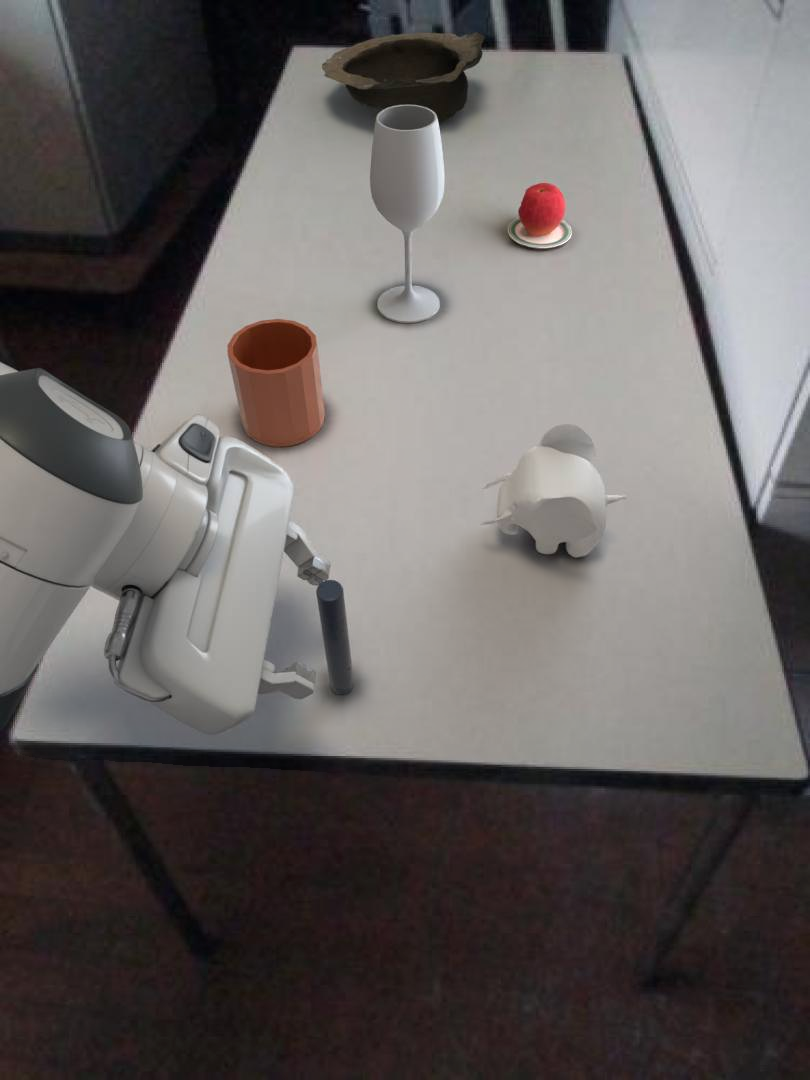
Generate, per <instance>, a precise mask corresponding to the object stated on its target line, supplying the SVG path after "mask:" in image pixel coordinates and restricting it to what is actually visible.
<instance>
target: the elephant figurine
mask: <svg viewBox="0 0 810 1080" xmlns="http://www.w3.org/2000/svg"><path fill="white" fill-rule="evenodd" d="M596 450H597V449H596V447H595V444H594V441H593V440H592V438H591V436H590V435H589V434H588V433H587V432H586V431H585V430H584V429H583V428H581V427H579V426H577V425H575V424H571V423H564V424H559V425H555V426H553V427H551V428H550V429H549V430H547V431H546V432H545V433H544V434H543V435H542V437H541V438H540V441H539V442H538V444H536V446H534V447H531V448H530V449H529V450H527V451H526V452H525V453H523V455H521V457H520V458H519V460H518V463H517V465H516V466H515V469H514V470H513V471H512V472H511V473H504V474H502V475H501V476H499V477H498V478H496V479H494V480H493V481H491V482H489V483H487V484H486V485H485V486H484V487H483V488H482V489H483V490H485V489H487V490H488V489H489V488H492V487H494V486H495V485H497V484H499V483H501V484H500V486H499V488H498V494H497V504H496V505H497V506H496V508H497V509H496V518H493V519H489V520H485V521H483V522H481V523H479V525H480V526H481V525H482V526H483V525H494V524H497V525H498V526H497V527H498V528H499V530H500V531H501V532H502V533H504V534H506V535H510V536H512V535H513V536H514V535H517V534H519V533H520V527H521V528H522V529H524V530H525V531H527V532H528V533H529V534H530V535H531V537H532V538H533V539H534V540H535V549H536V551H537V552H538V553H540V554H543V555H552V554H555V553H556V552H557V550H558V548H559V544H561V543H565V551H566V552H567V554H568V555H570V556H571V557H573V558H581V557H585V556H587V555H588V554H589V553H590V552H591V551H593V550H594V548H596V547H597V545H599V544H600V542H601V540H602V538H603V536H604V533H605V529H606V518H607V517H606V515H607V506H608V505H610V504H613V503H616V502H619V501H621V500H626V499H627V496H626V495H609V494H608V495H607V494H606V490H605V484H604V482H603V478H602V477H601V475H600V473H599V472H598V470H597V469H596V468H595V466H594V465H593V464H592V463H591V462H592V461H593V460H594V459H595V458H596V454H597V453H596Z"/></svg>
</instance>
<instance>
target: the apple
mask: <svg viewBox="0 0 810 1080" xmlns="http://www.w3.org/2000/svg"><path fill="white" fill-rule="evenodd" d="M517 211H518V217H517V218H515V219H513V220H512V221H511V222H509V224H508V226H507V234H508V236H509V238H510V239H511V240H513V241H514V242H515V243H517V244H519V245H521V246H525V247H528V248H533V249H551V248H556V247H559V246H562V245H565V243H567V242H568V241H569V240H570V239H571V237H572V233H573V231H572V227H571V225H570V224H568V222H566V221H565V220H563V219H564V216H565V213H566V201H565V197H564V194H563V192H562V191H561V190H560V189H559V187H558V186H557V185H555V184H552V183H549V182H539V183H537V184H533V185H531V186H529V187H528V188H526V189H525V192H524V194H523V197H522V200H521V201H520V206H519V207H518V210H517Z"/></svg>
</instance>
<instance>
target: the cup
mask: <svg viewBox="0 0 810 1080" xmlns="http://www.w3.org/2000/svg"><path fill="white" fill-rule="evenodd" d="M317 341H318V340H317V335H316V334H315V333H314V332H313V331H312V330H311V329H310V328H309V326H307V325H304V324H302V323H300V322H298V321H296V320H291V319H283V318H274V319H272V318H271V319H263V320H259V321H256V322H253V323H251V324H247V325H245V326H243V327H242V328H240V329H239V330H238V331H237V332H235V333H234V334H233V335H232V337H231V338H230V340H229V342H228V343H227V357H228V362H229V366H230V367H229V368H230V373H231V377H232V381H233V387H234V391H235V396H236V400H237V404H238V410H239V414H240V420H241V424H242V426H243V429H244V432H245V434H247V436H248V437H249V438H251V439H252V440H253V441H254V442H257V443H258V444H261V445H264V446H268V447H277V448H283V447H284V448H285V447H290V446H291V447H292V446H295V445H299V444H302V443H304V442H306V441H308V440H310V439H311V438H313V437H314V436H316V435H317V434H318V433H319V431H321V429H322V427H323V425H324V423H325V418H326V412H325V402H324V395H323V394H324V393H323V384H322V377H321V375H322V374H321V368H320V367H321V366H320V357H319V349H318V343H317Z"/></svg>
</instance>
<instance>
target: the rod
mask: <svg viewBox="0 0 810 1080" xmlns="http://www.w3.org/2000/svg"><path fill="white" fill-rule="evenodd" d="M344 592H345V591H344V587H343V585H342V584H341V582H339V581H337V580H335V579H327V580H326V581H323V582H322V583H320V584H319V585H317V586H316V590H315V594H316V601H317V606H318V607H317V608H318V613H319V614H318V615H319V620H320V626H321V634H322V639H323V646H324V647H323V648H324V654H325V661H326V666H327V672H328V673H327V674H328V679H329V685H330V689H331V690H332V692H333V693H335V694H337V695H346V694H348V693H350V692H351V691H352V690H353V688H354V685H355V684H354V682H355V681H354V672H353V665H352V656H351V645H350V635H349V628H348V620H347V618H348V617H347V610H346V602H345V593H344Z"/></svg>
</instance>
